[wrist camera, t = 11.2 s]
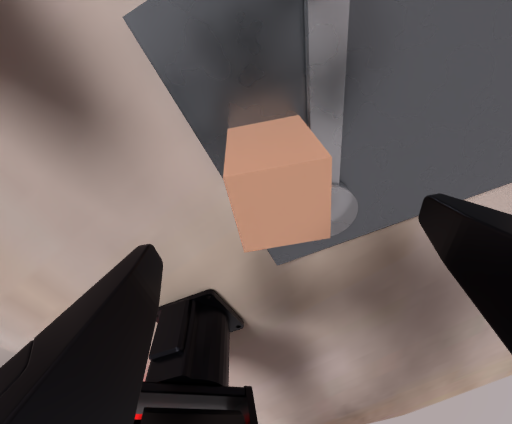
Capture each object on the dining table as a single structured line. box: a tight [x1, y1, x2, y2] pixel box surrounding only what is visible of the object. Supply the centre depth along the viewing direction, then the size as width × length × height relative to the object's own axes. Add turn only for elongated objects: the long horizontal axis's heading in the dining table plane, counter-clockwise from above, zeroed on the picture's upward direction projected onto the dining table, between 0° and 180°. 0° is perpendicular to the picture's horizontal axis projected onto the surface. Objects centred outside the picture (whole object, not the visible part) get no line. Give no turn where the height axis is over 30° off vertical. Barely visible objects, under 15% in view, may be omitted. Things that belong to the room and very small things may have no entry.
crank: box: [304, 0, 358, 237], centre depth 10 cm, size 14×4×4 cm, turn 9°
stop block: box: [223, 115, 332, 252], centre depth 11 cm, size 4×4×5 cm
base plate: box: [123, 0, 512, 265], centre depth 12 cm, size 16×18×1 cm
